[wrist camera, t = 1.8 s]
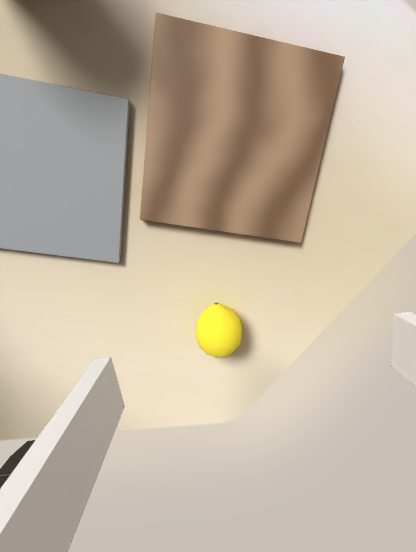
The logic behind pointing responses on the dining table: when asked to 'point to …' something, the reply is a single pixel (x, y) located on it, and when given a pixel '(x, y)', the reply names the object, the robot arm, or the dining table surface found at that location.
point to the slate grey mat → (62, 169)
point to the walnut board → (234, 129)
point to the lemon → (218, 330)
